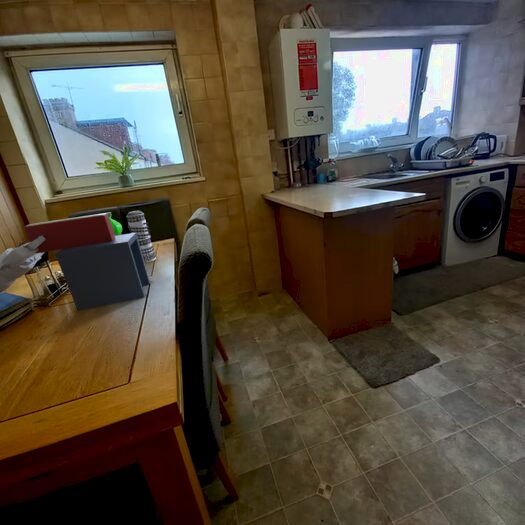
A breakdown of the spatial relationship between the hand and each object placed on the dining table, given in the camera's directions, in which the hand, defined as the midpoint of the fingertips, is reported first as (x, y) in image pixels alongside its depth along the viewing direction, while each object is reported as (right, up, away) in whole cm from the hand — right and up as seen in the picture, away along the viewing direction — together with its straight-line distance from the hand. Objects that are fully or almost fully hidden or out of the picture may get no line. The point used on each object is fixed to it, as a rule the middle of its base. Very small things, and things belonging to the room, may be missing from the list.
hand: (48, 235), depth 92 cm
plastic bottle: (-5, -7, +58) cm, 58 cm away
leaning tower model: (+13, -8, +49) cm, 52 cm away
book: (+8, -3, +3) cm, 9 cm away
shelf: (+17, -22, +11) cm, 30 cm away
